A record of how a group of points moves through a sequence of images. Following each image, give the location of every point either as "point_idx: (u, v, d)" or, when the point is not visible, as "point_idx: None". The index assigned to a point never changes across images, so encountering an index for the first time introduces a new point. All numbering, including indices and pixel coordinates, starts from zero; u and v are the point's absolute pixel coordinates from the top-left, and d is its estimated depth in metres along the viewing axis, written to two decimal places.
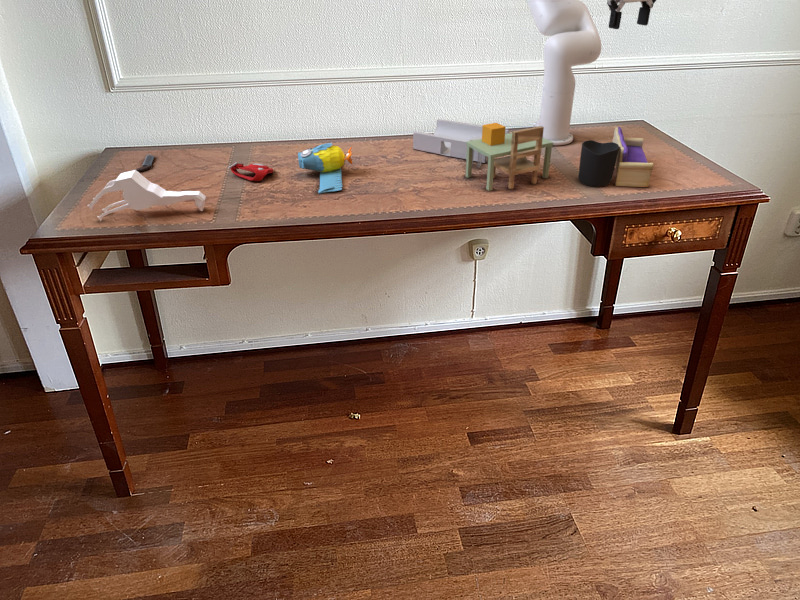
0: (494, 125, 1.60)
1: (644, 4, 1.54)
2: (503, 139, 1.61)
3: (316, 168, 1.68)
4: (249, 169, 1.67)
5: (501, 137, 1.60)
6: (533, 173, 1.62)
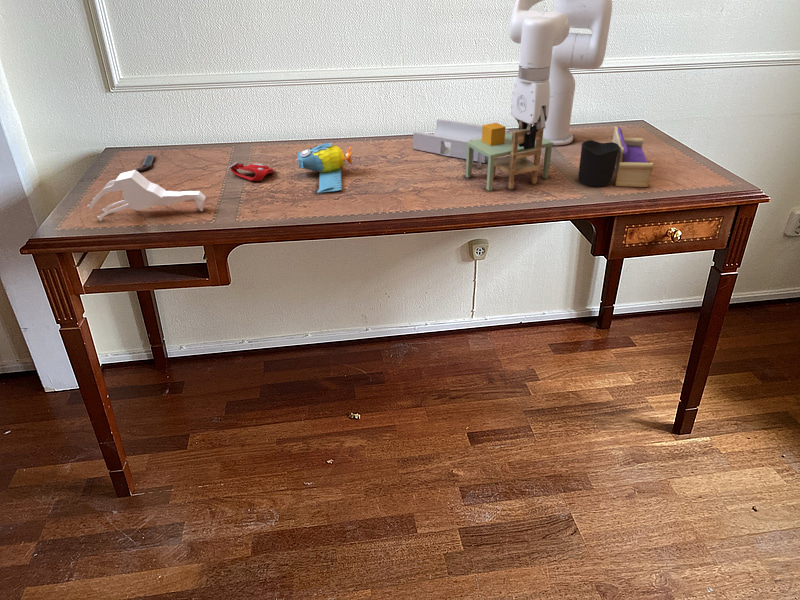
0: (494, 125, 1.60)
1: (524, 126, 1.54)
2: (503, 139, 1.61)
3: (316, 168, 1.68)
4: (249, 169, 1.67)
5: (501, 137, 1.60)
6: (533, 173, 1.62)
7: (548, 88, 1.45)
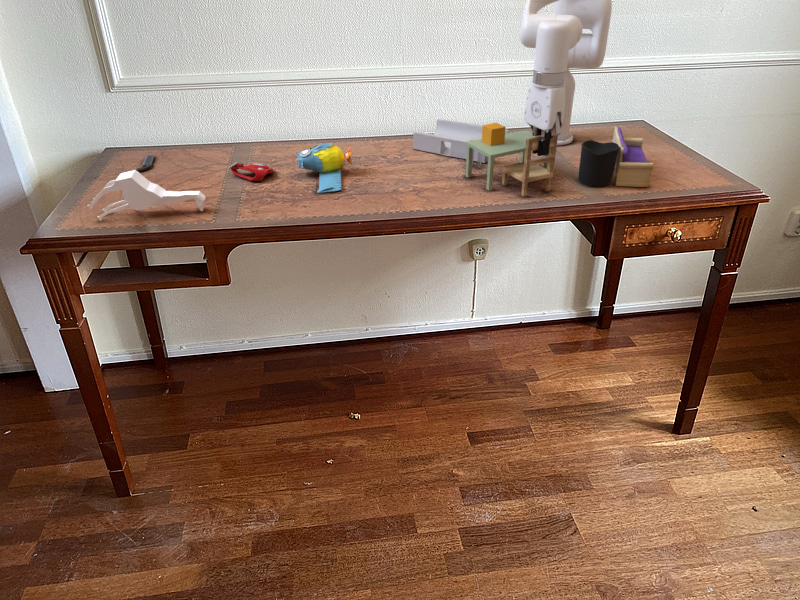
0: (494, 125, 1.60)
1: (538, 132, 1.50)
2: (503, 139, 1.61)
3: (315, 168, 1.68)
4: (249, 169, 1.67)
5: (501, 137, 1.60)
6: (546, 180, 1.57)
7: (564, 94, 1.40)
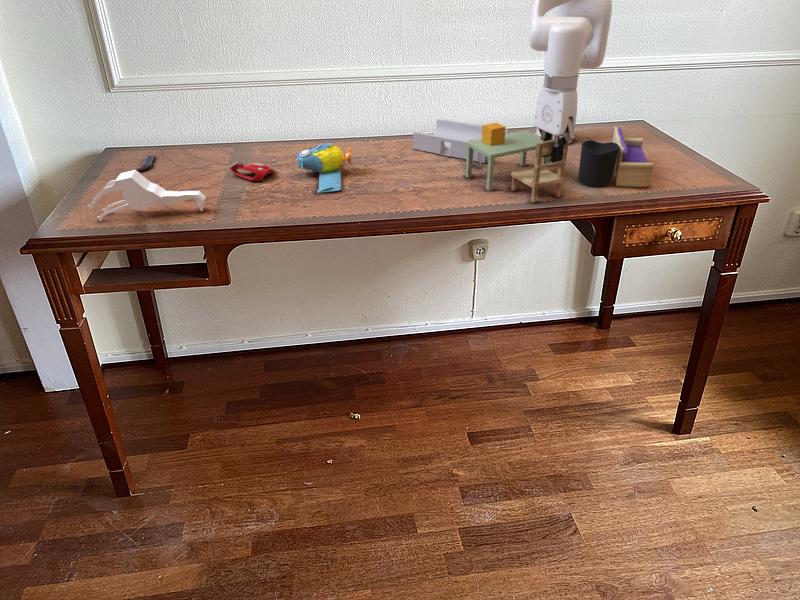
0: (494, 125, 1.60)
1: (546, 136, 1.47)
2: (503, 139, 1.61)
3: (315, 168, 1.68)
4: (249, 169, 1.67)
5: (501, 137, 1.60)
6: (557, 186, 1.54)
7: (576, 98, 1.37)
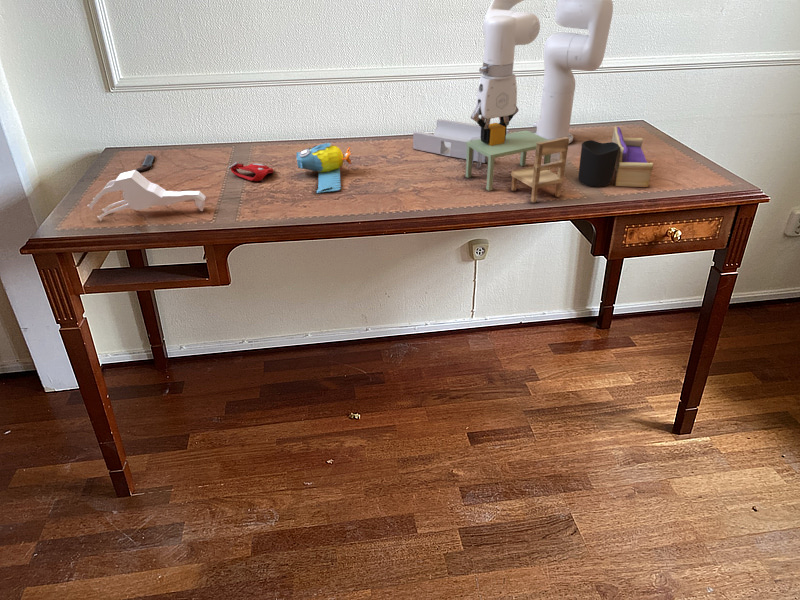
0: (494, 125, 1.60)
1: None
2: (503, 139, 1.61)
3: (315, 168, 1.68)
4: (249, 169, 1.67)
5: (501, 137, 1.60)
6: (557, 186, 1.54)
7: None
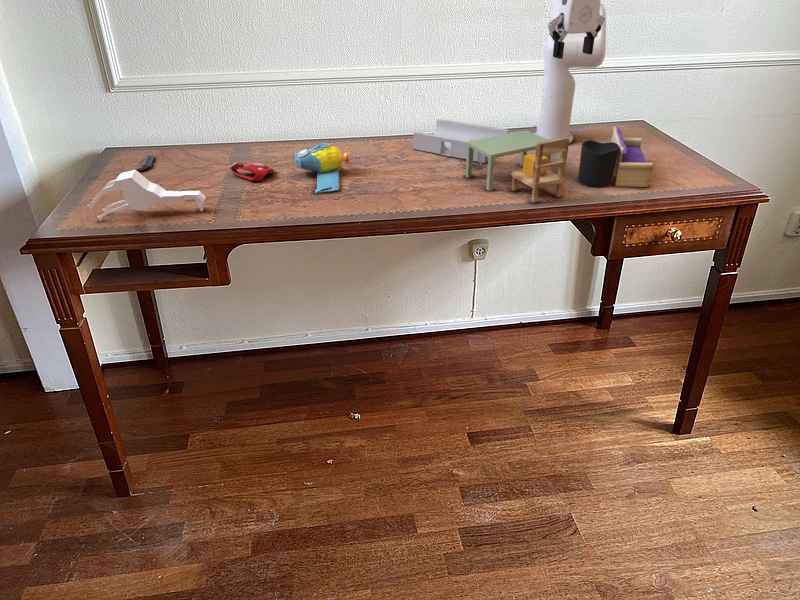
0: None
1: None
2: (545, 170, 1.54)
3: (313, 168, 1.69)
4: (249, 169, 1.67)
5: None
6: (557, 186, 1.54)
7: None
